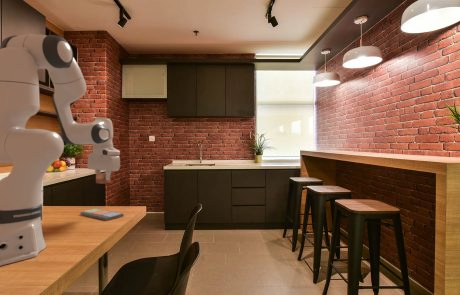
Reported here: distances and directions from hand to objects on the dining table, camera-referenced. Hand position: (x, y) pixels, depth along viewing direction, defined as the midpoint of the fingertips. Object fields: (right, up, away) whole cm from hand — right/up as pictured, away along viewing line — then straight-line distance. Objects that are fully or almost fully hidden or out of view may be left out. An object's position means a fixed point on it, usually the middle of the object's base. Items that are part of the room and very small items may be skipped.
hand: (103, 179), depth 126 cm
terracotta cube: (0, -2, 0) cm, 2 cm away
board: (-1, -18, 0) cm, 18 cm away
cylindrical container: (-30, -18, -6) cm, 35 cm away
